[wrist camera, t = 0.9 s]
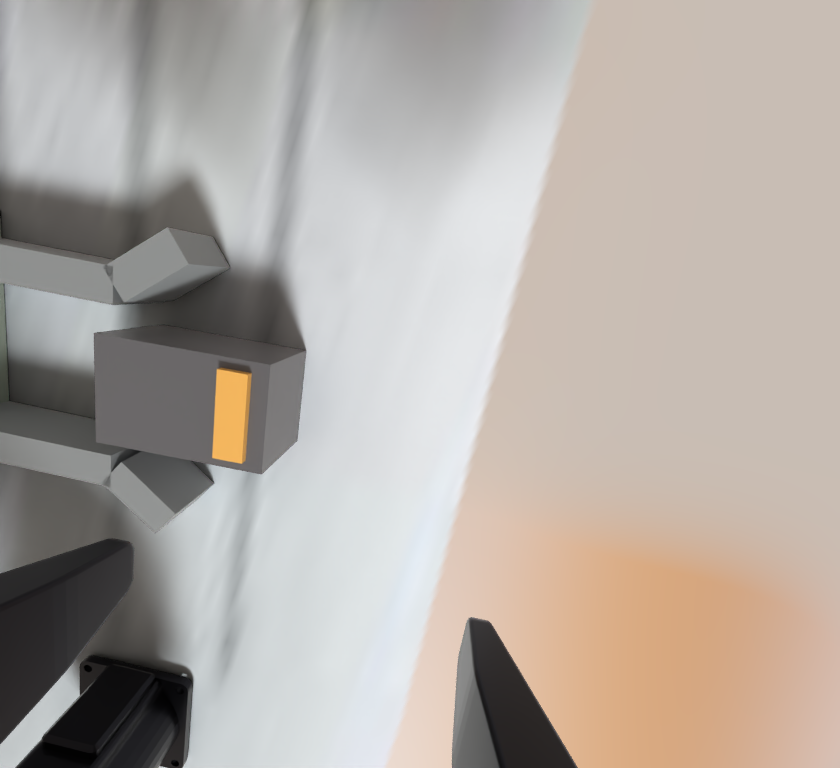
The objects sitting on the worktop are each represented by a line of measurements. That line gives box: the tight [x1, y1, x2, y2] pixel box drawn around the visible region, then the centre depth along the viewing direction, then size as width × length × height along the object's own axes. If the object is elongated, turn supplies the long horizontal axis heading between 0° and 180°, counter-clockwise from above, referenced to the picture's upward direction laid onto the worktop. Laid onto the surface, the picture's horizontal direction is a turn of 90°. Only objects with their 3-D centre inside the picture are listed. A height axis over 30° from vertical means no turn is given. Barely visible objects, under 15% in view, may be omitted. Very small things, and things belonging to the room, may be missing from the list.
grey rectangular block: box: [94, 325, 306, 474], centre depth 18 cm, size 4×7×4 cm, turn 81°
